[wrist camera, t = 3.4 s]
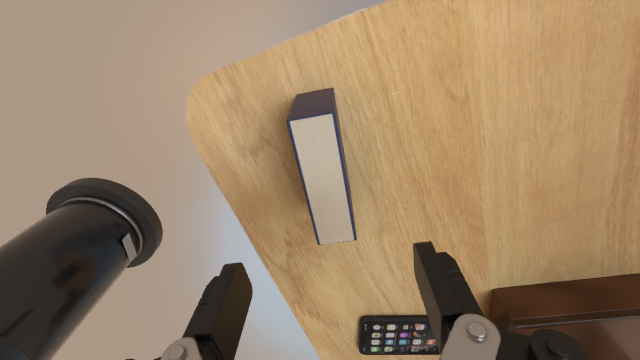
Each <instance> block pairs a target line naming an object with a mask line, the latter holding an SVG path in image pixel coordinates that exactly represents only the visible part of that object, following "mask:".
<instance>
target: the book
mask: <svg viewBox="0 0 640 360" xmlns="http://www.w3.org/2000/svg"><path fill="white" fill-rule="evenodd" d="M286 121H287V125H288V129H289V133H290V137H291V141H292V145H293V149H294V153H295V157H296V161H297V165H298V168H299V172H300V176H301V180H302V184H303V188H304V192H305V196H306V200H307V204H308V208H309V212H310V216H311V220H312V224H313V227H314V231H315V235H316V239H317V243H318V245H323V244H330V243H338V242H346V241H353V240H357V238H356V230H355V222H354V214H353V207H352V199H351V191H350V185H349V179H348V173H347V167H346V161H345V155H344V149H343V143H342V137H341V131H340V125H339V119H338V113H337V107H336V100H335V94H334V88H329V89H324V90H318V91H313V92H308V93H303V94H298V95H297V97H296V99H295V101H294V104H293V106H292V108H291V111H290V113H289V116H288V118H287V120H286Z"/></svg>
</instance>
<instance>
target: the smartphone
mask: <svg viewBox="0 0 640 360" xmlns="http://www.w3.org/2000/svg"><path fill="white" fill-rule="evenodd" d="M359 352H360V353H361V354H364V355H440V352H439V349H438V346H437V343H436V340H435V337H434V334H433V331H432V328H431V325H430V321H429V318H428V317H365V318H363V319H361V321H360V334H359Z"/></svg>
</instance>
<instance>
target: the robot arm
mask: <svg viewBox="0 0 640 360" xmlns="http://www.w3.org/2000/svg"><path fill="white" fill-rule="evenodd" d="M144 242H145V238H144V233H143V230H142V228H141V226H140V224H139V223H138V222H137V220H136V219H135V218H134V217H133V216H132V215H131V214H130V213H129V212H128V211H127V210H125V209H124V208H122V207H121V206H119V205H118V204H116V203H114V202H112V201H109V200H107V199H104V198H100V197H96V196H88V195H82V196H76V197H72V198H70V199H68V200H66V201H65V202H63V203H62V204H60V205H59V206H58V207H57V208H56V209H55V210H53V211H52V212H51V213H49V214H48V215H46V216H45V217H43V218H42V219H40V220H39V221H37V222H36V223H35V224H33V225H31V226H30V227H29V228H27V229H26V230H24V231H23V232H21V233H20V234H19V235H17V236H16V237H14V238H13V239H11V240H10V241H8V242H7V243H6V244H4V245H2V246H1V247H0V360H51V359H52V358H53V357H54V356H55V355H56V353H57V352H58V351H59V350H60V348H61V347H62V346H63V345H64V344H65V342H66V341H67V340H68V338H69V337H70V336H71V335H72V334H73V333H74V331H75V330H76V329H77V328H78V326H79V325H80V324H81V323H82V321H83V320H84V319H85V318H86V317H87V315H88V314H89V313H90V312H91V311H92V309H93V308H94V307H95V306H96V304H97V303H98V302H99V301H100V299H101V298H102V297H103V296H104V295H105V293H106V292H107V291H108V290H109V289H110V287H111V286H112V285H113V284H114V282H115V281H116V280H117V279H118V277H119V276H120V275H121V274H122V273H123V271H124V270H125V269H126V268H127V266H128V265H129V264H130V263H131V262H132V260H134V259H135V258H136V257H137V256H138V255H139V253H140V252H141V251H142V249H143V247H144ZM413 255H414V271H415V277H416V281H417V284H418V287H419V290H420V294H421V297H422V300H423V303H424V306H425V309H426V312H427V315H428V318H429V321H430V325H431V328H432V331H433V334H434V337H435V340H436V343H437V346H438V349H439V352H440V355H441V356H440V358H439V360H591V359H590V358H589V356H588V355H587V353H586V352H585V350H584V349H583V348H582V347H581V345H580V344H579V343H578V342H577V341H575V340H574V339H573V338H571V337H570V336H568V335H567V334H565V333H563V332H560V331H557V330H554V329H546V328H544V329H539V330H536V331H535V332H534V333H533V334H532V335H531V336H528V335H523V334H519V333H514V332H510V331H506V330H503V329H501V328H499V327H497V326H495V325H494V324H493V323H492V322H491V321H490V320H488V319H487V318H486V317H485V316H484V315H483V313H482V311H481V309H480V307H479V305H478V304H477V302H476V300H475V298H474V296H473V294H472V292H471V290H470V288H469V286H468V284H467V282H466V281H465V278H464V276H463V274H462V272H461V271H460V268H459V266H458V264H457V263H456V261H455V259H453V258H452V257H451V256H450V255H449V254H448V253H446V252H440V253H436V251H435V249H434V246H433V244H432V242H431V241H428V242H420V243H413ZM251 299H252V285H251V282H250V280H249V277H248V275H247V273H246V270H245V268H244V266H243V264H242V263H232V264H225V265H224V266H223V268H222V271H221V273H220V275H219V276H216V277H214V278H213V279H212V280H211V281H210V283H209V284H208V285H207V286H206V288H205V290H204V292H203V295H202V298H201V299H200V301H199V303H198V306H197V307H196V309H195V311H194V314H193V316H192V318H191V320H190V322H189V324H188V326H187V329H186V330H185V333H184V335H183V337H182V338H181V339H179V340H177V341H175V342H174V343H172V344H171V345H170V346H169V347H168V348H167V349H166V350H165V352H164V353H163V355H162V356H161V357H159V358H157V359H154V360H234V357H235V354H236V350H237V347H238V343H239V340H240V336H241V333H242V330H243V326H244V323H245V320H246V316H247V313H248V309H249V306H250V302H251ZM126 360H134V359H126Z"/></svg>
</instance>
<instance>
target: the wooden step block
mask: <svg viewBox="0 0 640 360" xmlns="http://www.w3.org/2000/svg"><path fill="white" fill-rule="evenodd" d="M489 320H490V321H491V322H492V323H493V324H494V325H495V326H497V327H499V328H501V329H503V330H506V331H510V332H514V333H519V334H523V335H528V336H531V335H532V334H533V333H534V332H535V331H536V330H539V329H544V328H546V329H554V330H557V331H560V332H563V333H565V334H567V335H568V336H570V337H571V338H573V339H574V340H575V341H577V342H578V343H579V344H580V345H581V347H582V348H583V349H584V350H585V352H586V353H587V355H588V356H589V358H590V359H591V360H640V274H633V275H623V276H614V277H604V278H595V279H585V280H576V281H566V282H557V283H547V284H538V285H528V286H519V287H509V288H500V289H493V293H492V301H491V308H490V315H489Z"/></svg>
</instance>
